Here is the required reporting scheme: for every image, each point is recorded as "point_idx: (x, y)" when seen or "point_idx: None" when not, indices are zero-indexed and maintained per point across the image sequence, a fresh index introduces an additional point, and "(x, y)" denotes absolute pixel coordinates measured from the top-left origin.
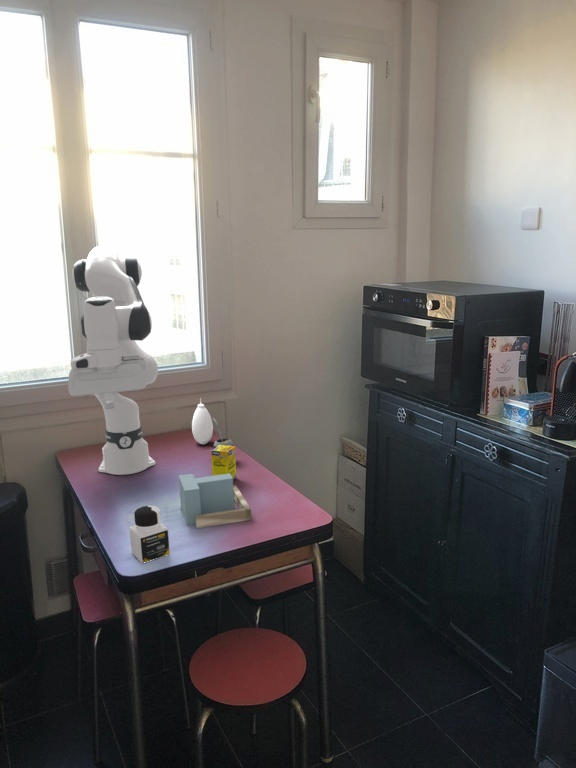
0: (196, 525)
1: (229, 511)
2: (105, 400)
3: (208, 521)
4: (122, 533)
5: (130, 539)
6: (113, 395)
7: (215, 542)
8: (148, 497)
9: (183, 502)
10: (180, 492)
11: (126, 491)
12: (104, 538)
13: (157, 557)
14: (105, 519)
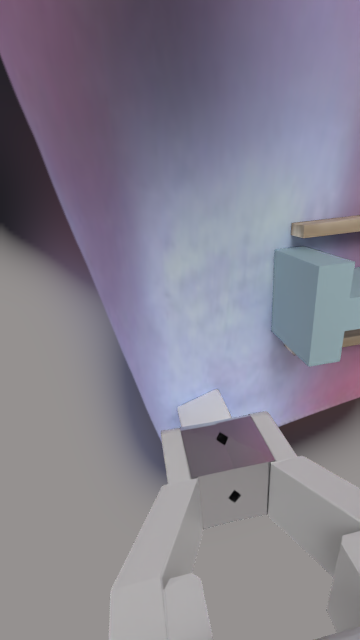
0: (286, 346)
1: (353, 340)
2: (194, 501)
3: None
4: (157, 340)
5: (181, 425)
6: (331, 613)
7: (299, 392)
8: (210, 156)
9: (289, 314)
10: (294, 271)
11: (148, 79)
12: (125, 353)
13: None
14: (114, 269)
